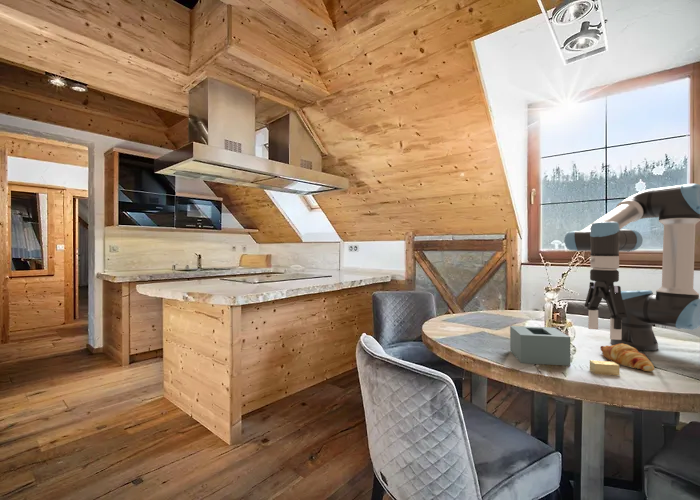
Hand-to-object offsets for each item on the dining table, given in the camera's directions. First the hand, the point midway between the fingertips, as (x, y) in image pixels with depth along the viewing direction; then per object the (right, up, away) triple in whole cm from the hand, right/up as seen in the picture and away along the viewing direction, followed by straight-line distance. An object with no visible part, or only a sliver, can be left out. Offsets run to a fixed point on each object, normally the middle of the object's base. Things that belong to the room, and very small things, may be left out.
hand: (603, 334), depth 110 cm
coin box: (-13, -13, +15) cm, 24 cm away
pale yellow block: (0, -13, 0) cm, 13 cm away
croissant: (+15, -13, +9) cm, 22 cm away
